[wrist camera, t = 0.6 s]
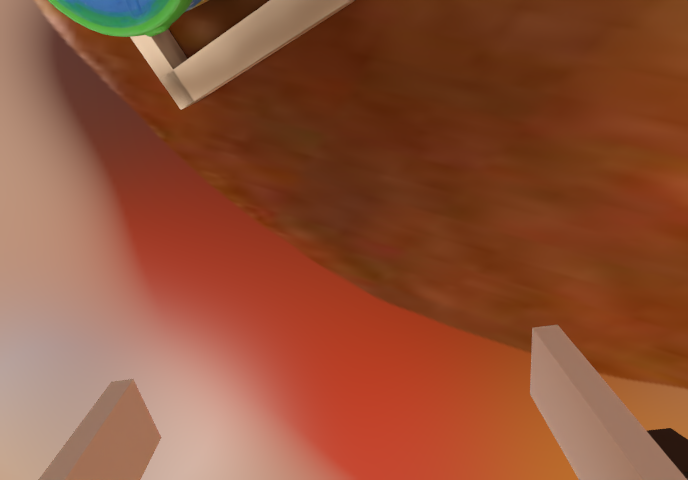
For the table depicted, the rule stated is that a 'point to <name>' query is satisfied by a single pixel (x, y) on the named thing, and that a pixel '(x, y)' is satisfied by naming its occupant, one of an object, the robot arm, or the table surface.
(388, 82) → the table surface
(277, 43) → the wooden frame
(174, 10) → the snack cup
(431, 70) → the table surface
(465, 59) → the table surface
